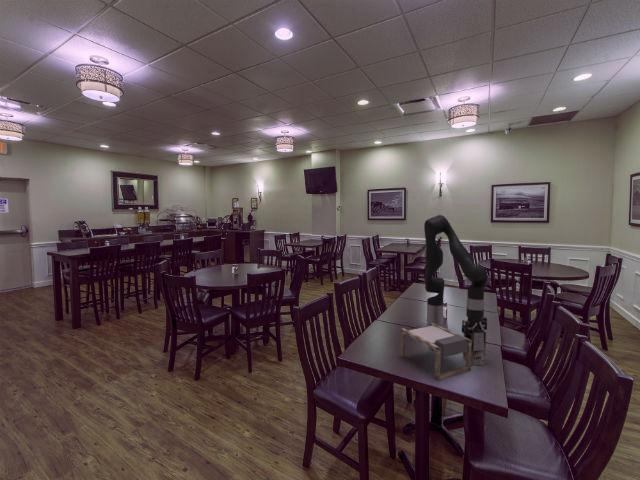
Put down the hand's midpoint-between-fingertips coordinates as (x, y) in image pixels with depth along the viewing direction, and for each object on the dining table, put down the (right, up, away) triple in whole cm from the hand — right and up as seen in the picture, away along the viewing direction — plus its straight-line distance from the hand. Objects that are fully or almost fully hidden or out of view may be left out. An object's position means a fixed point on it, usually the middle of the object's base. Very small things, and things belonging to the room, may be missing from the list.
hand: (474, 340), depth 147 cm
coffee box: (0, -11, +1) cm, 11 cm away
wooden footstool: (-20, -11, 0) cm, 22 cm away
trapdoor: (-19, -1, -3) cm, 19 cm away
